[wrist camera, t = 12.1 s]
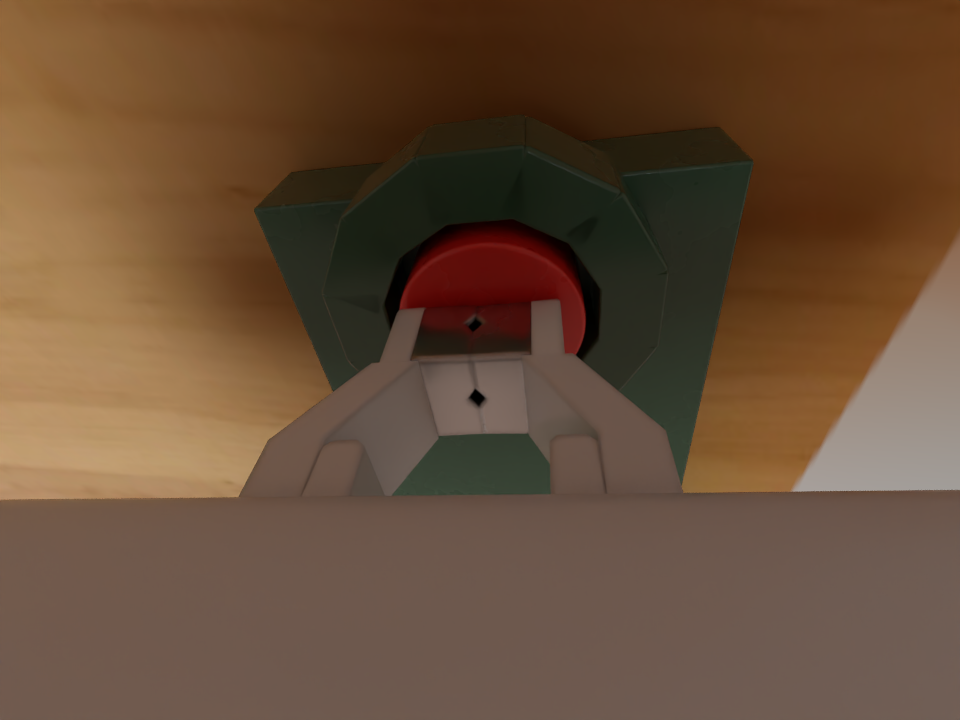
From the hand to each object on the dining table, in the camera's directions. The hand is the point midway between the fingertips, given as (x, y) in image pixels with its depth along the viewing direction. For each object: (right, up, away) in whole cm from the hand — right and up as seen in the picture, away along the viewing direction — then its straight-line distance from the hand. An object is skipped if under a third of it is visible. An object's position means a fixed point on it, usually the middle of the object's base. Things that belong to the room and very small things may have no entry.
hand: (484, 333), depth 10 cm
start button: (0, +1, +1) cm, 2 cm away
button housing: (+1, -2, +8) cm, 8 cm away
